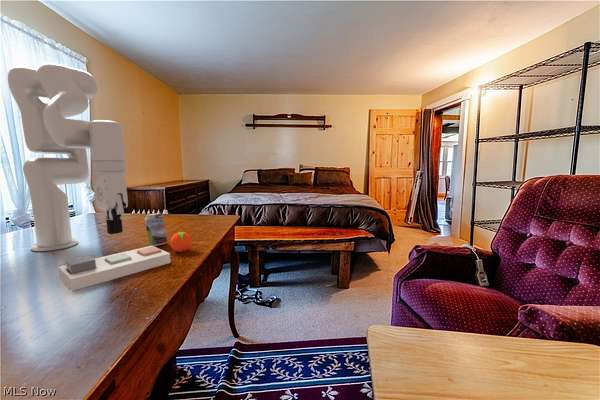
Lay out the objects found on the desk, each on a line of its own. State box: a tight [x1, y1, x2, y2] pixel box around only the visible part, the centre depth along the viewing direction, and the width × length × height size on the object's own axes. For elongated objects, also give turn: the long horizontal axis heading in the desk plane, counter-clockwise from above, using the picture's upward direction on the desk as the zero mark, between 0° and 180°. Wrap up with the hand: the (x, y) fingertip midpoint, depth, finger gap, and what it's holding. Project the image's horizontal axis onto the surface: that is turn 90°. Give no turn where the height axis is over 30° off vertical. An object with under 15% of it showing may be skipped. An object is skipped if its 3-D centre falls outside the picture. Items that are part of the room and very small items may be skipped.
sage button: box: [105, 252, 131, 265], centre depth 78 cm, size 5×5×3 cm
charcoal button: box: [65, 255, 96, 275], centre depth 71 cm, size 5×5×3 cm
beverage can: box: [144, 212, 168, 247], centre depth 100 cm, size 6×7×12 cm
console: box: [57, 245, 171, 292], centre depth 78 cm, size 12×24×3 cm, turn 142°
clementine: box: [170, 231, 193, 253], centre depth 94 cm, size 8×7×7 cm
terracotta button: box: [137, 246, 162, 256], centre depth 85 cm, size 5×5×3 cm
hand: (115, 232), depth 77 cm, fingers closed
